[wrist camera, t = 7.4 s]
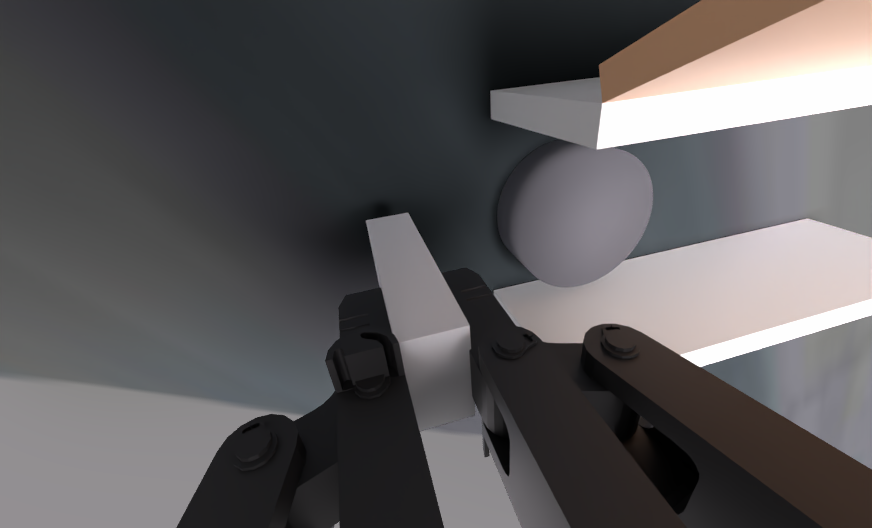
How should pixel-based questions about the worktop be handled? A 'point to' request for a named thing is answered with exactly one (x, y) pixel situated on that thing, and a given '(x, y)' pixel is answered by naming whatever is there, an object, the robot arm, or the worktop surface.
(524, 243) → the grey round puck
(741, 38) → the duct cover
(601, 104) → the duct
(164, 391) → the worktop surface
